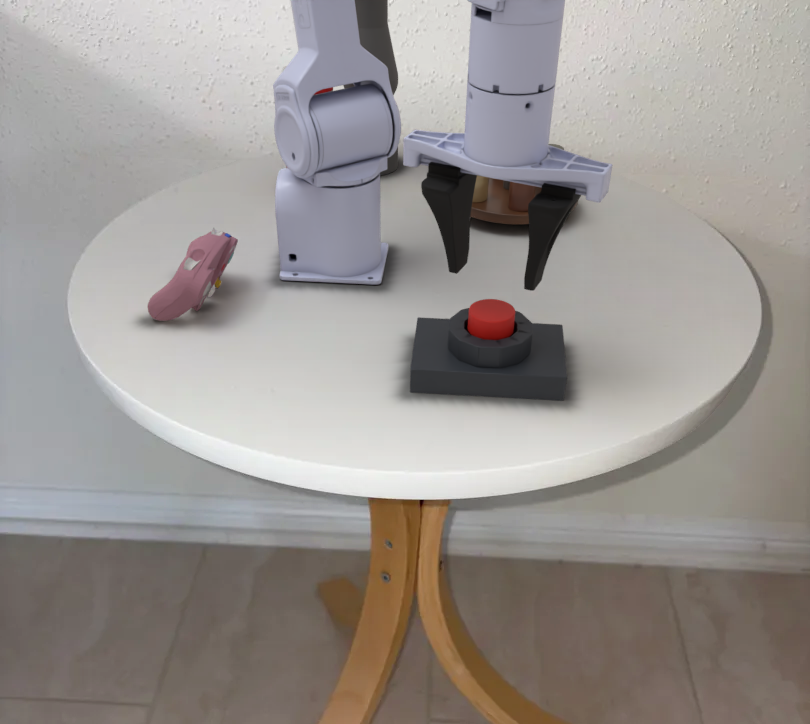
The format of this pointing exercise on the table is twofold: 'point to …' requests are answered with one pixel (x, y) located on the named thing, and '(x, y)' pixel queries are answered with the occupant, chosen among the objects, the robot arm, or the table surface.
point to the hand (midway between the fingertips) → (495, 275)
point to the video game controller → (194, 276)
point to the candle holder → (378, 47)
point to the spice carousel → (503, 200)
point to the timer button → (491, 319)
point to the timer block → (488, 360)
